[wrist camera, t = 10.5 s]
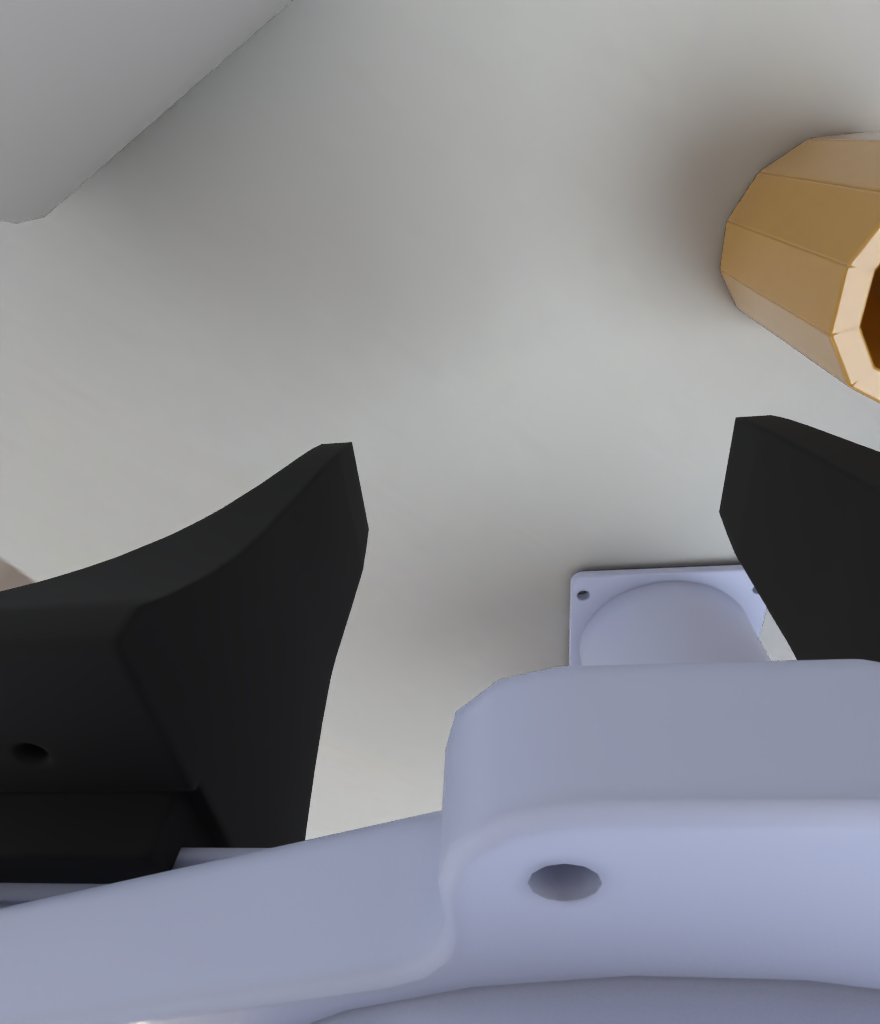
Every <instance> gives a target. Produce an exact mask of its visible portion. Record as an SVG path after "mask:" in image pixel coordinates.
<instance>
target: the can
mask: <svg viewBox="0 0 880 1024" xmlns="http://www.w3.org/2000/svg"><path fill="white" fill-rule="evenodd" d="M291 1H292V0H0V221H4V222H10V223H16V224H17V223H21V222H25V221H30V220H34V219H39V218H43V217H45V216H46V215H47V214H49V213H50V212H51V211H52V210H53V209H54V208H55V207H57V206H58V205H59V204H60V203H61V202H62V201H63V200H65V199H66V198H67V197H68V196H69V195H70V194H71V193H73V192H74V191H75V190H76V189H77V188H78V187H79V186H81V185H82V184H83V183H84V182H85V181H86V180H88V179H89V178H90V177H91V176H92V175H93V174H94V173H96V172H97V171H98V170H99V169H100V168H101V167H102V166H104V165H105V164H106V163H107V162H108V161H109V160H110V159H112V158H113V157H114V156H115V155H116V154H117V153H118V152H120V151H121V150H122V149H123V148H124V147H125V146H126V145H128V144H129V143H130V142H131V141H132V140H133V139H134V138H136V137H137V136H138V135H139V134H140V133H141V132H142V131H144V130H145V129H146V128H147V127H148V126H149V125H150V124H152V123H153V122H154V121H155V120H156V119H157V118H158V117H160V116H161V115H162V114H163V113H164V112H165V111H166V110H168V109H169V108H170V107H171V106H172V105H173V104H175V103H176V102H177V101H178V100H179V99H180V98H181V97H183V96H184V95H185V94H186V93H187V92H188V91H189V90H191V89H192V88H193V87H194V86H195V85H196V84H197V83H199V82H200V81H201V80H202V79H203V78H204V77H205V76H207V75H208V74H209V73H210V72H211V71H212V70H213V69H215V68H216V67H217V66H218V65H219V64H220V63H221V62H223V61H224V60H225V59H226V58H227V57H228V56H229V55H231V54H232V53H233V52H234V51H235V50H236V49H237V48H239V47H240V46H241V45H242V44H243V43H244V42H245V41H247V40H248V39H249V38H250V37H251V36H252V35H253V34H255V33H256V32H257V31H258V30H259V29H260V28H261V27H263V26H264V25H265V24H266V23H267V22H268V21H270V20H271V19H272V18H273V17H274V16H275V15H276V14H278V13H279V12H280V11H281V10H282V9H283V8H284V7H286V6H287V5H288V4H289V3H290V2H291Z"/></svg>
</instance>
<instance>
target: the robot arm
mask: <svg viewBox="0 0 880 1024" xmlns="http://www.w3.org/2000/svg"><path fill="white" fill-rule="evenodd" d="M719 513H720V516H721V518H722V521H723V524H724V527H725V529H726V532H727V535H728V537H729V540H730V542H731V545H732V547H733V550H734V552H735V554H736V556H737V558H738V560H739V561H740V563H741V565H723V566H699V567H676V568H652V569H628V570H604V571H582V572H578V573H576V574H574V575H573V576H572V578H571V581H570V624H569V666H559V667H554V668H550V669H545V670H540V671H535V672H531V673H526V674H521V675H517V676H512V677H507V678H503V679H500V680H498V681H496V682H495V683H494V684H492V685H491V686H490V687H488V688H487V689H486V690H484V691H483V692H482V693H480V694H479V695H478V696H476V697H475V698H474V699H472V700H471V701H470V702H468V703H467V704H466V705H464V706H463V707H462V708H460V709H459V710H458V711H456V713H455V717H454V721H453V724H452V728H451V732H450V735H449V739H448V743H447V746H446V750H445V767H444V784H443V802H442V810H441V811H436V812H432V813H427V814H423V815H418V816H413V817H409V818H404V819H400V820H395V821H391V822H386V823H382V824H377V825H373V826H368V827H364V828H359V829H355V830H350V831H346V832H341V833H337V834H332V835H328V836H323V837H319V838H314V839H310V840H305V836H306V828H307V821H308V814H309V807H310V799H311V792H312V785H313V778H314V771H315V765H316V759H317V752H318V746H319V740H320V734H321V728H322V722H323V716H324V711H325V706H326V700H327V695H328V689H329V684H330V679H331V675H332V671H333V667H334V663H335V659H336V656H337V652H338V649H339V646H340V643H341V639H342V636H343V633H344V630H345V627H346V623H347V620H348V617H349V614H350V611H351V607H352V604H353V601H354V598H355V594H356V591H357V588H358V584H359V581H360V578H361V574H362V571H363V566H364V559H365V553H366V546H367V538H368V531H369V528H368V523H367V518H366V513H365V507H364V502H363V497H362V492H361V487H360V482H359V476H358V471H357V466H356V461H355V456H354V451H353V445H352V442H348V443H333V444H321V445H319V446H317V447H315V448H313V449H311V450H310V451H308V452H307V453H305V454H304V455H302V456H301V457H299V458H298V459H296V460H295V461H293V462H292V463H290V464H289V465H288V466H286V467H285V468H283V469H282V470H280V471H279V472H278V473H276V474H275V475H273V476H272V477H270V478H269V479H267V480H266V481H265V482H263V483H262V484H260V485H259V486H257V487H255V488H254V489H252V490H251V491H249V492H247V493H246V494H244V495H243V496H241V497H240V498H238V499H236V500H235V501H233V502H232V503H230V504H228V505H227V506H225V507H224V508H222V509H220V510H218V511H217V512H215V513H213V514H211V515H209V516H208V517H206V518H204V519H202V520H200V521H198V522H196V523H194V524H192V525H190V526H188V527H186V528H184V529H182V530H180V531H178V532H176V533H174V534H172V535H170V536H167V537H165V538H163V539H160V540H158V541H155V542H153V543H150V544H148V545H146V546H143V547H141V548H138V549H136V550H133V551H131V552H128V553H126V554H124V555H121V556H119V557H116V558H113V559H110V560H107V561H104V562H101V563H99V564H96V565H93V566H90V567H87V568H84V569H81V570H77V571H74V572H71V573H68V574H64V575H61V576H58V577H54V578H51V579H47V580H44V581H40V582H37V583H33V584H29V585H25V586H21V587H17V588H13V589H9V590H4V591H1V592H0V1024H880V452H878V451H875V450H873V449H870V448H867V447H864V446H862V445H859V444H856V443H854V442H851V441H848V440H845V439H843V438H840V437H837V436H835V435H832V434H829V433H827V432H824V431H821V430H819V429H816V428H813V427H810V426H808V425H805V424H802V423H799V422H796V421H792V420H789V419H786V418H782V417H777V416H772V415H767V416H752V417H736V419H735V425H734V431H733V436H732V442H731V448H730V453H729V459H728V465H727V470H726V476H725V482H724V487H723V493H722V499H721V504H720V510H719ZM753 587H755V588H753ZM580 591H587V592H586V593H585V594H578V593H579V592H580ZM767 609H768V610H769V612H770V614H771V615H772V617H773V619H774V620H775V622H776V624H777V625H778V627H779V629H780V630H781V632H782V634H783V635H784V637H785V639H786V640H787V642H788V644H789V645H790V647H791V649H792V651H793V653H794V655H795V657H796V659H797V660H789V661H771V660H770V658H769V656H768V654H767V652H766V651H765V649H764V647H763V645H762V643H761V641H760V640H759V638H760V634H761V630H762V626H763V622H764V618H765V614H766V610H767Z"/></svg>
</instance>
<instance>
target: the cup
mask: <svg viewBox="0 0 880 1024" xmlns="http://www.w3.org/2000/svg"><path fill="white" fill-rule="evenodd" d="M720 270H721V274H722V276H723V278H724V281H725V283H726V285H727V287H728V289H729V292H730V294H731V296H732V298H733V300H734V303H735V305H736V307H737V308H738V309H739V310H740V311H742V312H743V313H744V314H746V315H747V316H749V317H750V318H752V319H753V320H754V321H756V322H757V323H759V324H760V325H762V326H763V327H764V328H766V329H767V330H769V331H770V332H771V333H773V334H774V335H776V336H777V337H779V338H780V339H781V340H783V341H784V342H786V343H787V344H789V345H790V346H791V347H793V348H794V349H796V350H797V351H798V352H800V353H801V354H803V355H804V356H806V357H807V358H808V359H810V360H811V361H813V362H814V363H816V364H817V365H818V366H820V367H821V368H823V369H824V370H826V371H827V372H828V373H830V374H831V375H833V376H834V377H835V378H837V379H838V380H840V381H841V382H843V383H844V384H845V385H847V386H848V387H850V388H851V389H853V390H855V391H857V392H859V393H861V394H863V395H865V396H867V397H869V398H871V399H873V400H874V401H876V402H878V403H880V133H861V132H860V133H851V134H842V135H833V136H824V137H815V138H811V139H808V140H806V141H804V142H803V143H801V144H800V145H798V146H797V147H795V148H794V149H792V150H791V151H789V152H788V153H786V154H785V155H783V156H782V157H780V158H779V159H777V160H776V161H774V162H773V163H771V164H770V165H768V166H767V167H765V168H764V169H762V170H761V171H760V173H758V174H757V176H756V177H755V179H754V180H753V182H752V183H751V185H750V186H749V188H748V189H747V191H746V192H745V194H744V196H743V197H742V199H741V200H740V202H739V203H738V205H737V206H736V208H735V209H734V211H733V212H732V214H731V215H730V217H729V219H728V221H727V223H726V230H725V237H724V244H723V251H722V258H721V266H720Z"/></svg>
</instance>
